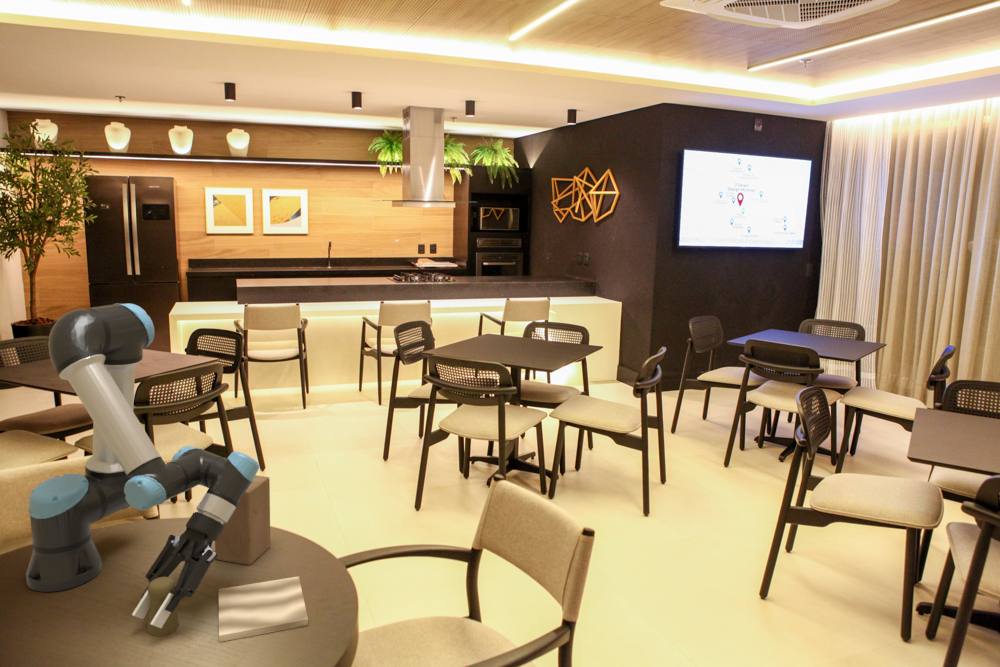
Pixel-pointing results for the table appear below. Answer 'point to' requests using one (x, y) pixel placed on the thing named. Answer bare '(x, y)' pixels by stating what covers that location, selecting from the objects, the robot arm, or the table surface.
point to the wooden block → (247, 526)
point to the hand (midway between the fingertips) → (146, 621)
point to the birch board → (261, 608)
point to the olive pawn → (158, 594)
